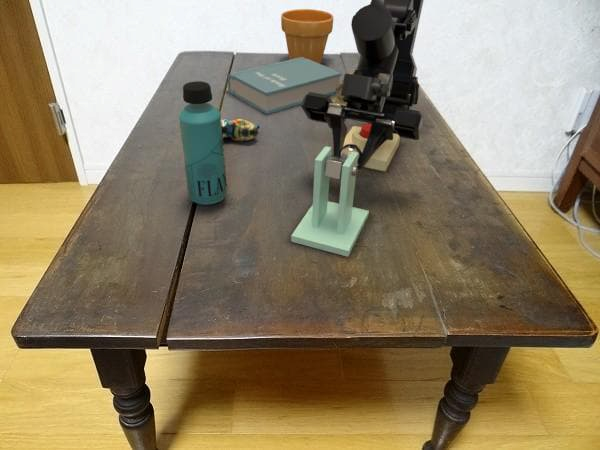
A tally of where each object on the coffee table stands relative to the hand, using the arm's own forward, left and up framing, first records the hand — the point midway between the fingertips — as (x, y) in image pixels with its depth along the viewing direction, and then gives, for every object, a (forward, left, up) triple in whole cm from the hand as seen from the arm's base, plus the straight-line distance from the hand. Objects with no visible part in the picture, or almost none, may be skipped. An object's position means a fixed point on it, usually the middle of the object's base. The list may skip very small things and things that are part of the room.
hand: (347, 166), depth 76 cm
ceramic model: (-25, -36, -8) cm, 44 cm away
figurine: (+10, -33, -8) cm, 35 cm away
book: (-12, -50, -8) cm, 52 cm away
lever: (+2, +2, +1) cm, 3 cm away
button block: (-14, -15, -8) cm, 22 cm away
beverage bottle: (+20, -11, -8) cm, 24 cm away
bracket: (+5, +4, -8) cm, 10 cm away
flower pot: (-27, -68, -8) cm, 73 cm away
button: (-14, -15, -4) cm, 21 cm away
